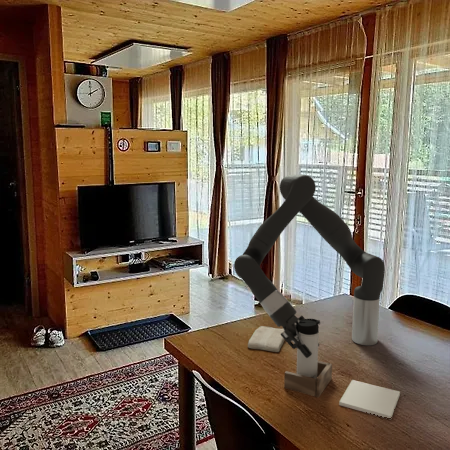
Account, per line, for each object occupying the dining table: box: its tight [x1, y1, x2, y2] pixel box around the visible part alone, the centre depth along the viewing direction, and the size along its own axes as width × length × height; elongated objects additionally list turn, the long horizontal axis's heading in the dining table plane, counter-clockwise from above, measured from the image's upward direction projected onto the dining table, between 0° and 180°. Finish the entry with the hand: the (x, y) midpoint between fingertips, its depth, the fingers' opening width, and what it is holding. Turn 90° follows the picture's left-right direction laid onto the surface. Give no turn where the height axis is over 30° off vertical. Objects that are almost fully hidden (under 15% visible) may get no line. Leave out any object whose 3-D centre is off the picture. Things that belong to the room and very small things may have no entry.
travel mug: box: [296, 318, 321, 379], centre depth 139 cm, size 6×7×20 cm
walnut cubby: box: [283, 360, 333, 398], centre depth 140 cm, size 12×11×5 cm
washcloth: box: [247, 325, 285, 353], centre depth 171 cm, size 12×18×3 cm, turn 162°
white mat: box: [338, 379, 401, 419], centre depth 131 cm, size 14×14×1 cm
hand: (313, 351), depth 138 cm, fingers closed on travel mug, 6 cm apart
